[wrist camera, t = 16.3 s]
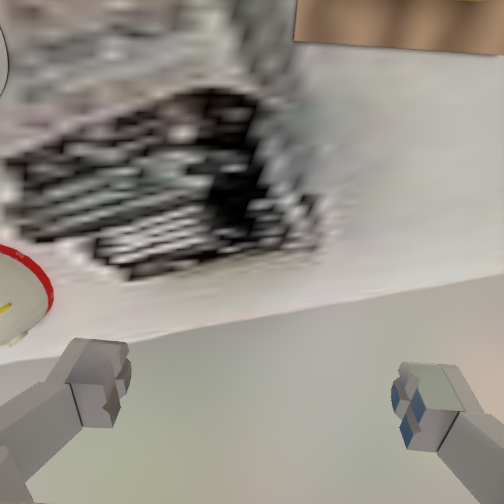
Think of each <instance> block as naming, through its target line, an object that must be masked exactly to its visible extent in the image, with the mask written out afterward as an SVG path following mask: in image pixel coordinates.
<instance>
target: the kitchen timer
mask: <svg viewBox="0 0 504 504" xmlns="http://www.w3.org/2000/svg"><path fill="white" fill-rule="evenodd" d="M53 300H54V296H53V288H52V285H51V283H50V280H49V278H48V277H47V275H46V274H45V273H44V271H43V270H42V269H41V267H40V266H39V265H37V264H36V263H35V262H34V261H33V260H32V259H30V258H29V257H28V256H26V255H24V254H22V253H21V252H19V251H17V250H15V249H13V248H10V247H7V246H4V245H1V244H0V346H3V345H7V344H9V346H13V345H15V344H16V343H18V342H19V341H20V340H21V339H22V338H24V337H25V336H26V335H27V334H28V330H30V329H31V328H32V327H34V326H35V325H36V324H37V323H38V322H39V321H40V320H41V319H42V318H43V317H44V316H45V315H46V313H47V312H48V311H49V310H50V308H51V305H52V303H53Z"/></svg>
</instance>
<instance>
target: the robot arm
mask: <svg viewBox="0 0 504 504" xmlns="http://www.w3.org/2000/svg"><path fill="white" fill-rule="evenodd" d="M7 71H8V60H7V52H6V47H5V42H4V39H3V36H2V33H1V30H0V94H1V92H2V91H3V88H4V86H5V82H6V78H7ZM128 352H129V349H128V344H127V343H125V342H118V341H107V340H97V339H83V338H74V339H73V340H72V341H70V343H69V344H68V346H67V347H66V349H65V351H64V352H63V354H62V355H61V357H60V358H59V360H58V361H57V363H56V365H55V366H54V368H53V369H52V371H51V372H50V374H49V376H48V377H47V379H46V380H45V382H38V383H36V384H35V385H33V386H31V387H30V388H28V389H27V390H25V391H24V392H22V393H21V394H19V395H17V396H16V397H14V398H12V399H11V400H9V401H8V402H6V403H5V404H3V405H2V406H0V504H44V503H34V502H33V499H32V496H31V494H30V492H29V490H28V489H27V487H26V484H25V482H26V481H27V480H28V479H29V478H30V477H31V476H33V475H34V474H35V473H36V472H37V471H38V470H39V469H40V468H41V467H42V466H43V465H44V464H45V463H46V462H48V460H50V458H52V457H53V456H54V455H55V454H56V453H57V452H58V451H59V450H60V449H61V448H62V447H64V445H66V444H67V443H68V442H69V441H70V440H71V439H72V438H73V437H74V436H75V435H76V434H77V433H78V432H79V431H81V430H82V427H94V428H113V426H114V423H115V421H116V418H117V416H118V413H119V411H120V408H121V406H120V400H119V399H120V398H122V397H123V396H124V395H126V393H127V390H128V387H129V385H130V380H131V369H132V368H131V362H130V361H129V360H128V359H127V358H126V357H127V355H128ZM398 372H399V375H400V377H399V378H397V379H396V380H395V381H394V382H393V385H392V388H391V401H392V406H393V410H394V412H395V414H396V415H397V416H398V417H399V418H400V419H401V420H402V422H401V425H400V427H399V428H400V431H401V434H402V437H403V440H404V443H405V446H406V449H407V450H416V451H426V452H435V453H437V455H438V456H439V457H440V458H441V459H442V461H443V462H444V463H445V464H446V465H447V466H448V467H449V469H450V470H451V471H452V472H453V473H454V474H455V475H456V477H457V478H458V479H459V480H460V481H461V482H462V483H463V485H464V486H465V487H466V488H467V489H468V490H469V491H470V493H471V494H472V495H473V496H474V497H475V498H476V499H477V501H478V502H479V503H480V504H504V424H503V423H501V422H500V421H499V420H497V419H496V418H495V417H493V416H492V415H491V414H485V412H484V411H483V409H482V407H481V405H480V404H479V402H478V400H477V399H476V397H475V395H474V393H473V391H472V390H471V388H470V386H469V385H468V383H467V381H466V379H465V378H464V376H463V374H462V372H461V371H460V369H459V368H458V367H457V366H456V365H448V364H433V363H417V362H402V363H401V365H400V367H399V369H398Z"/></svg>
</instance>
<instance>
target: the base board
mask: <svg viewBox="0 0 504 504" xmlns="http://www.w3.org/2000/svg"><path fill="white" fill-rule="evenodd" d="M293 41H305V42H319V43H334V44H348V45H362V46H377V47H391V48H406V49H420V50H435V51H449V52H464V53H478V54H493V55H504V0H485V1H464V0H297V7H296V17H295V27H294V37H293Z"/></svg>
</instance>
